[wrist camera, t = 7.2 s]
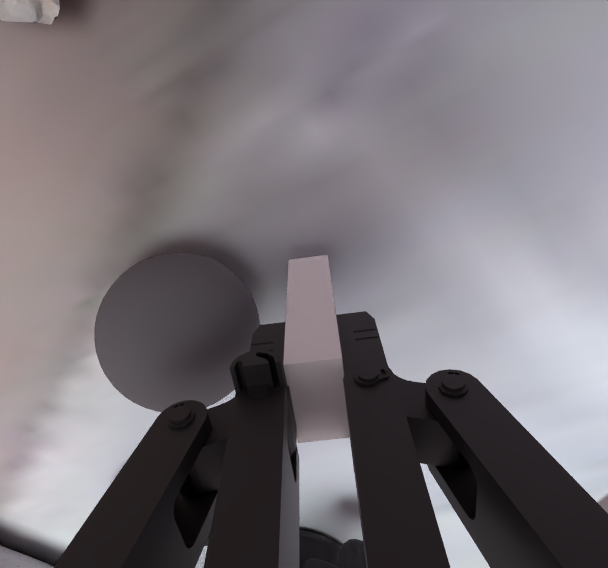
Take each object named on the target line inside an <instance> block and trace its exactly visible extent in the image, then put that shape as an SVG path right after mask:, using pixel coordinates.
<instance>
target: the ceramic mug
mask: <svg viewBox="0 0 608 568" xmlns="http://www.w3.org/2000/svg"><path fill="white" fill-rule="evenodd" d="M53 567H54V566H52V565H49V564H47V563H44V562H42V561H39V560H37V559H34V558H32V557H30V556H27V555H24V554H22V553H19V552H16V551H14V550H11V549H8V548H6V547H3V546H1V545H0V568H53Z"/></svg>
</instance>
